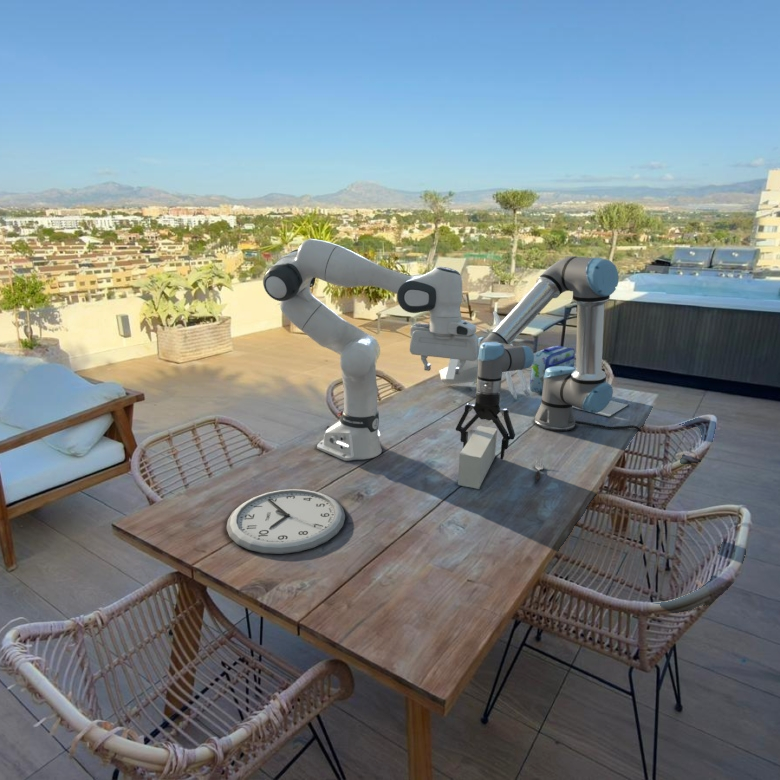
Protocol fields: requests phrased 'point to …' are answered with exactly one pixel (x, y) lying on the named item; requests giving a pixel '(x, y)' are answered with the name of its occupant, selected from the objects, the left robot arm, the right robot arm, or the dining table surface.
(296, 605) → the dining table surface
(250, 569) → the dining table surface
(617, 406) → the invitation card
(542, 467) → the fork
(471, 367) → the white plastic object
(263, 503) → the wall clock
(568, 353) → the lunch box
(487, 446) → the box
